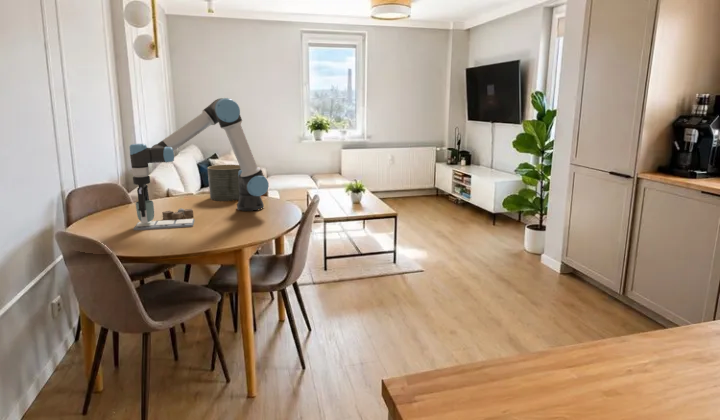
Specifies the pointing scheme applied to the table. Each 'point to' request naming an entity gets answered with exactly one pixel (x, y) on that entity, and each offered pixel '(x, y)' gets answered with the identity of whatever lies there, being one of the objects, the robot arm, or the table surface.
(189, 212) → the walnut block
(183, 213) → the grey ball
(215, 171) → the planter
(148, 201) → the cup
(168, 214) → the walnut block
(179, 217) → the walnut block
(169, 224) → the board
